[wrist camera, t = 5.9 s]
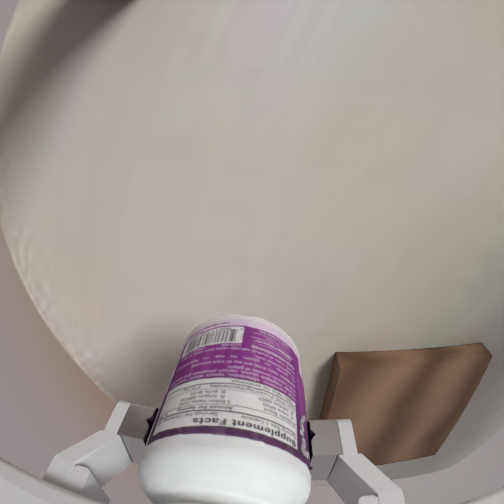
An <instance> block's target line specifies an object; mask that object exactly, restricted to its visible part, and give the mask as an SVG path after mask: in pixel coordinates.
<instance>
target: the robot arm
mask: <svg viewBox="0 0 504 504" xmlns="http://www.w3.org/2000/svg"><path fill="white" fill-rule="evenodd" d="M158 411H159V409H158V408H154V407H149V406H144V405H139V404H135V403H130V402H126V401H121V400H120V401H119V402H118V403H117V404H116V406H115V408H114V410H113V412H112V414H111V416H110V418H109V420H108V422H107V424H106V426H105V428H104V430H103V431H102V430H99V431H97V432H96V433H94V434H92V435H90V436H89V437H87V438H85V439H84V440H82V441H80V442H78V443H77V444H75V445H73V446H71V447H69V448H68V449H66V450H64V451H63V452H60V453H59V454H57V455H55V457H54V459H53V461H52V463H51V464H50V466H49V468H48V470H47V472H46V474H45V476H44V478H43V479H41V478H39V477H37V476H35V475H33V474H30V473H29V472H27V471H25V470H23V469H21V468H19V467H17V466H15V465H13V464H11V463H10V462H8V461H6V460H4V459H2V458H1V457H0V504H109V501H110V499H109V497H108V496H107V494H106V493H105V492H104V490H103V489H102V487H103V486H104V485H106V484H107V483H108V482H109V481H111V480H112V479H113V478H114V477H116V476H117V475H118V474H119V473H121V472H122V471H123V470H124V469H126V468H127V467H128V466H129V465H130V464H131V463H132V462H136V463H140V460H141V457H142V454H143V451H144V448H145V446H146V443H147V440H148V437H149V435H150V432H151V429H152V427H153V424H154V422H155V419H156V416H157V414H158ZM307 431H308V440H309V455H310V469H311V480H327V481H328V482H329V484H330V485H331V486H332V487H333V489H334V490H335V491H336V492H337V494H338V495H339V496H340V497H341V499H342V500H343V501H344V502H345V504H405V500H404V496H403V492H402V489H401V488H399V487H398V486H397V485H396V484H395V483H394V482H393V481H391V480H390V479H389V478H388V477H387V476H386V475H385V474H384V473H382V472H381V471H380V470H379V469H378V468H377V467H376V466H375V465H374V464H373V463H371V462H370V461H369V460H368V459H367V458H366V457H365V456H364V455H363V454H358V452H357V447H356V442H355V437H354V432H353V427H352V423H351V420H350V419H339V420H335V419H332V420H309V421H308V423H307ZM460 504H504V487H502V488H499V489H497V490H495V491H492V492H490V493H487V494H485V495H482V496H480V497H477V498H474V499H472V500H469V501H466V502H463V503H460Z"/></svg>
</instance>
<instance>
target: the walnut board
mask: <svg viewBox="0 0 504 504" xmlns="http://www.w3.org/2000/svg"><path fill="white" fill-rule="evenodd" d="M491 358H492V355H491V353H490V352H489V351H488V350H487V348H486V347H485V346H484V345H483V343H476V344H468V345H459V346H449V347H438V348H426V349H412V350H395V351H373V352H336V354H335V359H334V363H333V368H332V372H331V376H330V380H329V384H328V389H327V393H326V396H325V400H324V404H323V408H322V412H321V416H320V419H319V420H332V419H335V420H339V419H350V420H351V423H352V427H353V432H354V437H355V442H356V447H357V452H358V454H363V455H364V456H365V457H366V458H367V459H368V460H369V461H370V462H371V463H373V464H374V465H382V464H389V463H395V462H401V461H406V460H412V459H417V458H422V457H426V456H431V455H435V454H436V452H437V451H438V449H439V448H440V447H441V445H442V444H443V442H444V441H445V439H446V438H447V436H448V435H449V433H450V432H451V430H452V429H453V427H454V426H455V424H456V422H457V421H458V419H459V417H460V416H461V414H462V413H463V411H464V409H465V407H466V406H467V404H468V402H469V401H470V399H471V397H472V395H473V393H474V392H475V390H476V388H477V386H478V384H479V382H480V380H481V378H482V376H483V374H484V372H485V370H486V368H487V366H488V364H489V362H490V360H491Z"/></svg>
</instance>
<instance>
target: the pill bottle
mask: <svg viewBox="0 0 504 504" xmlns="http://www.w3.org/2000/svg"><path fill="white" fill-rule="evenodd" d="M138 470H139V471H138V473H139V480H140V484H141V486H142V488H143V490H144V492H145V493H146V495H147V497H148V498H149V499H150V500H151V502H152V503H154V504H306V501H307V500H308V497H309V495H310V490H311V469H310V455H309V440H308V431H307V420H306V407H305V397H304V386H303V376H302V367H301V361H300V355H299V352H298V350H297V348H296V346H295V344H294V342H293V341H292V339H291V338H290V337H289V336H288V335H287V334H286V333H285V332H284V331H283V330H282V329H280V328H279V327H278V326H276V325H275V324H273V323H271V322H269V321H267V320H265V319H262V318H259V317H255V316H249V315H239V314H230V315H224V316H220V317H215V318H213V319H210V320H208V321H206V322H204V323H203V324H201V325H199V326H198V327H197V328H195V329H194V330H193V331H192V332H191V333H190V334H189V336H188V337H187V339H186V341H185V342H184V345H183V347H182V350H181V353H180V356H179V358H178V361H177V363H176V366H175V369H174V371H173V374H172V376H171V379H170V382H169V385H168V387H167V390H166V392H165V395H164V398H163V400H162V403H161V406H160V408H159V411H158V414H157V416H156V419H155V422H154V424H153V427H152V429H151V432H150V435H149V437H148V440H147V443H146V446H145V448H144V451H143V454H142V457H141V460H140V463H139V469H138Z"/></svg>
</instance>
